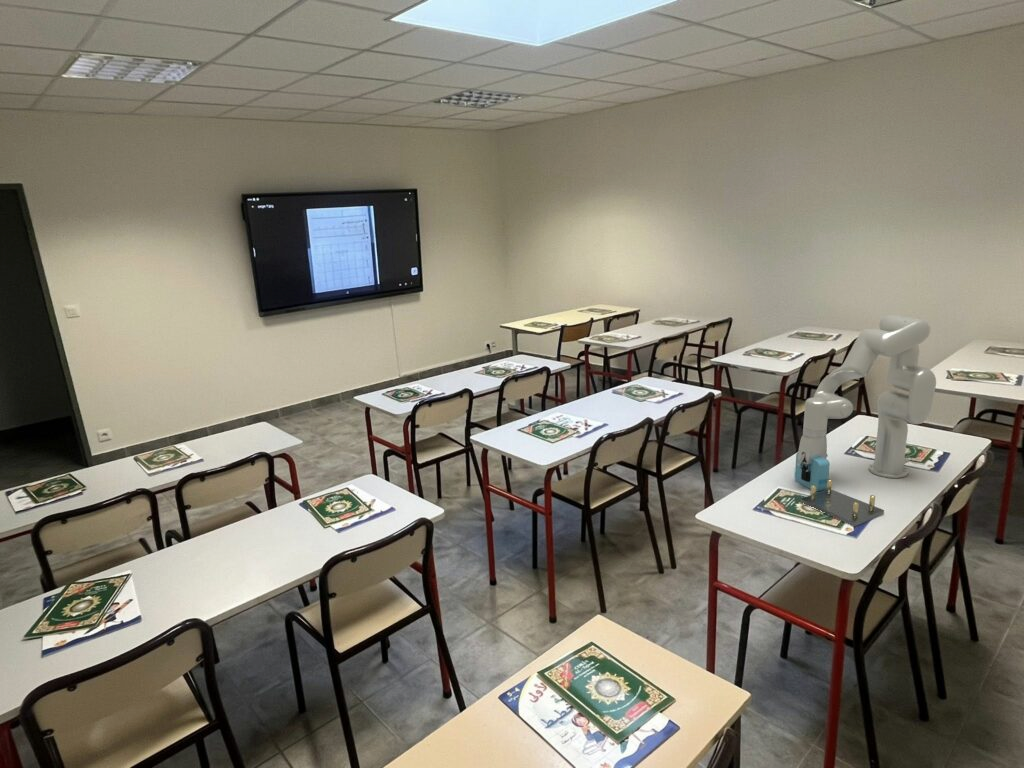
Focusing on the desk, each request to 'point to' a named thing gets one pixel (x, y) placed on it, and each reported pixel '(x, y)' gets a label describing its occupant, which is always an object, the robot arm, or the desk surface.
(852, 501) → the plate
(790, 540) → the desk surface
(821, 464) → the data package
